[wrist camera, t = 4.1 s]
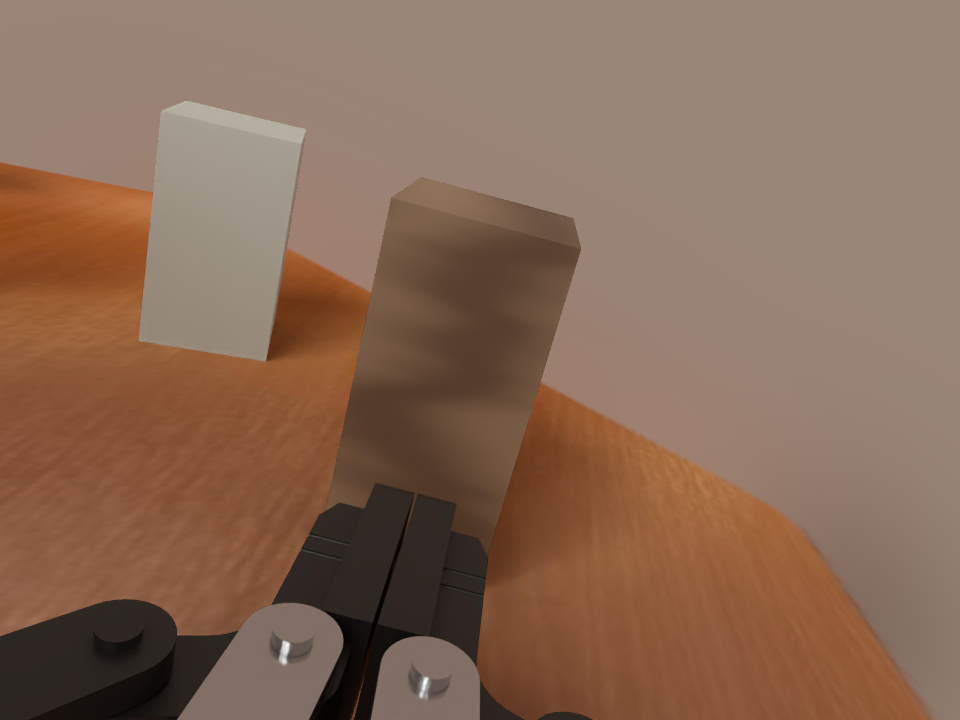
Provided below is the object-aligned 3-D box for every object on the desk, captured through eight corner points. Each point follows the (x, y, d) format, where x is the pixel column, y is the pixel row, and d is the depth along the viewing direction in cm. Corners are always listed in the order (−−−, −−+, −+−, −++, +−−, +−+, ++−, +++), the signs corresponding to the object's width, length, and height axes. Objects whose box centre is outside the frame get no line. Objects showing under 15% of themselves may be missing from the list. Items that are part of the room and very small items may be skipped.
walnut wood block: (317, 551, 23) (391, 197, 19) (355, 473, 27) (421, 177, 24) (475, 593, 23) (581, 248, 19) (487, 508, 27) (573, 218, 24)
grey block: (138, 341, 33) (161, 111, 30) (164, 301, 38) (186, 100, 35) (265, 361, 34) (301, 143, 31) (274, 320, 39) (306, 129, 36)
